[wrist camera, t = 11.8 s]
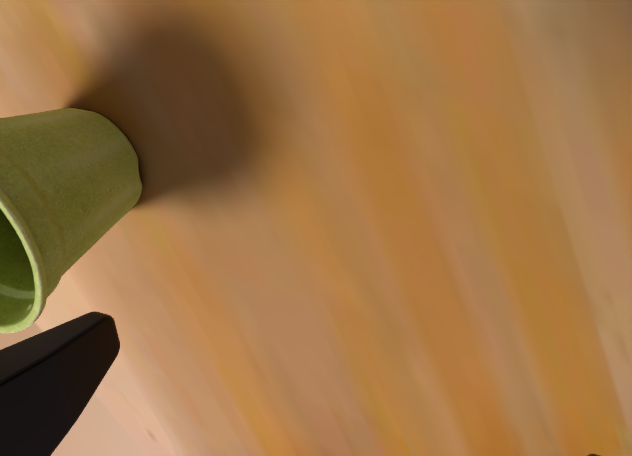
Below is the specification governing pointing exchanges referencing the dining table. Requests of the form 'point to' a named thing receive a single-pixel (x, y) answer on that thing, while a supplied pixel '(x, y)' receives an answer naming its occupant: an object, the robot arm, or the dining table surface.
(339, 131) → the dining table surface
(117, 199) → the plant pot
